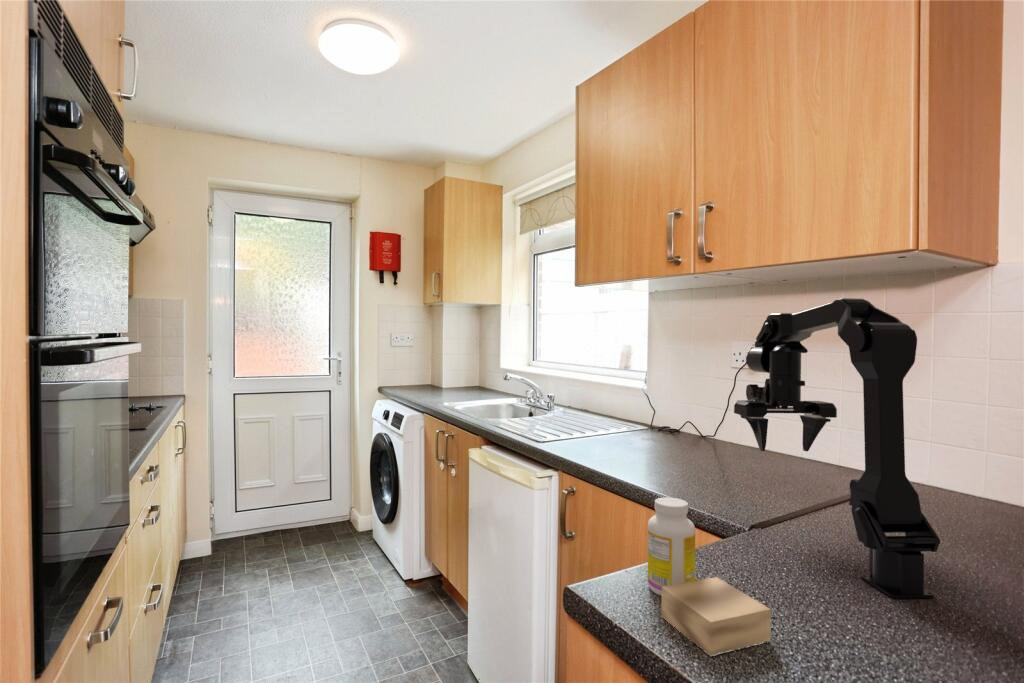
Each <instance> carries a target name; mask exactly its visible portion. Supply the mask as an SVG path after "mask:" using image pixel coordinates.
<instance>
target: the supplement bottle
mask: <svg viewBox="0 0 1024 683" xmlns="http://www.w3.org/2000/svg"><path fill="white" fill-rule="evenodd" d="M654 510H655V512H656V513H655V514H654V515H653V516H651V517H650V518H649V519H648V522H647V585H648V588H649V589H650V590H651V591H652V592H653V593H655V594H656V595H657V596H661V597H662V587H664V586H670V585H675V584H681V583H686V582H692V581H696V527H695V525H694V522H692V521H691V520H690V519H689V518H688V517H687V516H688V513H689V503H688V502H687V501H685V500H684V499H680V498H676V497H668V496H667V497H666V496H665V497H659V498H655V500H654Z"/></svg>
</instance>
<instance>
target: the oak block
mask: <svg viewBox="0 0 1024 683" xmlns="http://www.w3.org/2000/svg"><path fill="white" fill-rule="evenodd" d="M771 614H772V613H771V608H769V607H767V606H766V605H764V604H763V603H761V602H760V601H758V600H756V599H754V598H753V597H751V596H749V595H747V594H746V593H744V592H742V591H741V590H739V589H738V588H736V587H734V586H733V585H731V584H729V583H728V582H726V581H725V580H722V579H721V578H719V577H717V576H715V577H710V578H709V577H708V578H703V579H700V580H698V579H697V580H695V581H692V582H686V583H681V584H675V585H670V586H664V587H662V596H661V617H662V619H663V618H664V619H665V620H666V621H667V622H668V624H669V623H670V624H671V625H672V626H673V627H672V626H671V625H670V624H669V625H670V626H671V627H672V628H674V627H675V628H676V629H677V630H679V633H680V632H681V633H682V634H683V635H684V637H685V636H686V637H687V638H689V639H690V640H691V641H693V642H694V643H695V644H697V645H698V646H699V647H701V648H702V649H703V650H705V651H706V652H707V653H708V654H710V655H712V654H716V653H719V652H726V651H729V650H734V649H738V648H741V647H745V646H750V645H754V644H759V643H762V642H766V641H770V642H771V633H772V632H771V630H772V629H771V624H772V623H771V617H772V616H771ZM664 619H663V620H664ZM665 620H664V621H665ZM666 621H665V622H666ZM667 622H666V623H667ZM675 628H674V629H675ZM676 629H675V630H676ZM677 630H676V631H677ZM681 633H680V634H681ZM682 634H681V635H682ZM683 635H682V636H683ZM686 637H685V638H686ZM687 638H686V639H687ZM690 640H689V641H690ZM691 641H690V642H691Z"/></svg>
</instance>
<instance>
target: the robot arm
mask: <svg viewBox="0 0 1024 683" xmlns="http://www.w3.org/2000/svg"><path fill="white" fill-rule="evenodd" d="M835 327H837V335H838V336H837V337H840V339H841V340H842V341H843V342H844V343H845V344H846V345H847V346H848V350H849V356H850V357H849V358H850V361H851V362H850V363H851V364H852V365H853V367H854V368H855V370H856V372H857V373H858V374H859V375H860V377H861V378H862V383H863V384H862V388H863V389H862V390H863V392H862V393H863V424H864V425H863V426H864V427H863V431H864V432H863V433H864V436H863V437H864V464H865V465H864V472H863V473H862V474H861V476H860V478H859V479H855V478H854V479H853V478H852V479H851V480H850V483H849V491H850V492H849V493H850V497H849V498H850V499H849V503H848V504H849V506H851V514H852V519H853V523H854V527H855V531H856V536H857V541H859V543H862V544H863V547H865V548H867V549H869V562H868V563H869V568H868V569H869V574H860V579H862V580H863V581H864V582H865V583H867V584H869V585H870V586H872V587H874V588H875V589H877V590H879V591H880V592H882V593H884V594H885V595H887V596H888V597H890V598H894V599H923V598H925V599H932V598H935V593H933V592H932V591H930V590H928V589H927V588H925V554H924V553H922V552H931V553H936V552H937V551H938V549H939V546H940V544H941V539H940V538H939V536H938V534H937V533H936V531H935V530H934V528H933V527H932V525H931V524H930V522H929V521H928V518H926V517H925V515H924V513H923V512H922V508H921V502H920V501H921V500H920V496H919V493H918V491H917V490H916V489H915V487H914V486H913V484H912V482H910V480H909V479H908V477H907V474H906V454H905V453H906V452H905V447H906V446H905V418H904V417H905V416H904V415H905V414H904V413H905V412H904V411H905V410H904V409H905V408H904V379H905V378H906V376H907V375H908V373H909V372H910V370H911V369H912V367H913V365H914V364H915V362H916V354H917V346H918V337H917V336H918V335H917V333H916V331H915V329H912V328H911V327H910V325H908V324H906V323H905V322H902V321H901V320H900V319H899V318H897V317H895V316H894V315H891V314H890V313H888V312H885V311H883V310H881V309H880V308H877V307H876V306H875V305H873V303H871V302H870V301H869V300H866V299H864V298H849V297H848V298H846V297H845V298H844V297H842V298H838V299H835V300H834V301H831V302H829V303H825V304H823V305H818V306H816V307H812V308H808V309H806V310H803V311H799V312H795V313H791V312H790V313H788V312H785V313H784V312H781V313H770V314H769V315H768V316H767V317H766V319H765V320H764V322H763V323H762V326H761V329H760V331H759V332H758V335H757V336H756V337H755V340H756V341H755V342H754V346H753V347H752V348H751V349H750V350H749V351H748V352H747V354H746V356H745V362H746V365H747V367H748V368H749V369H750V370H751V371H753V372H757V373H758V372H759V373H767V374H769V376H768V377H769V378H765V381H764V386H759V385H758V384H757V383H756V384H754V383H753V384H752V383H751V384H748V385H746V387H745V396H746V399H745V400H744V399H743V400H739V399H738V400H737V401H736V402H735V404H734V405H733V413H734V414H736V415H739V416H740V418H741V419H743V420H746V422H747V423H748V424H749V425H750V428H751V430H752V431H753V434H754V437H755V440H756V442H757V446H758V448H759V451H760V452H765V451H766V447H767V437H768V427H769V426H768V425H769V418H766V417H765V416H766V415H767V414H800V415H799V418H800V420H801V423H802V451H804V452H809V451H810V448H812V446H813V444H814V442H815V440H816V438H817V437H818V435H819V434H820V432H821V431H822V430H823V428H824V427H825V425H826V424H827V423H831V420H832V418H833V419H834V418H837V417H838V416H837V415H838V411H837V410H838V409H837V407H836V405H835V403H832V402H827V401H823V400H821V401H820V400H801V399H802V396H801V395H802V393H801V392H802V387H805V386H806V380H802V354H807V353H808V349H807V348H806V347H805V346H804V345H803V344H802V343H801V342H803V341H805V340H806V339H807V340H808V339H809V338H811V336H812V334H813V333H815V332H819V331H823V330H827V329H831V328H835ZM890 533H892V534H895V533H897V534H901V533H903V534H905V535H889V536H888V535H886V534H890Z"/></svg>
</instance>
